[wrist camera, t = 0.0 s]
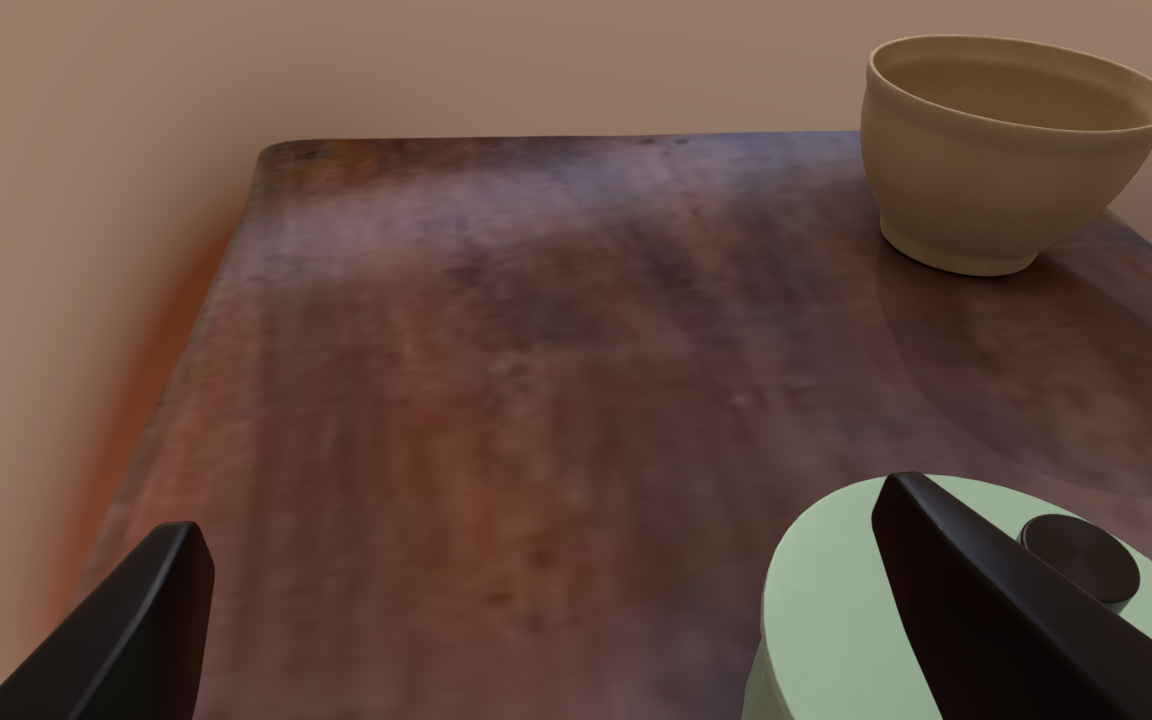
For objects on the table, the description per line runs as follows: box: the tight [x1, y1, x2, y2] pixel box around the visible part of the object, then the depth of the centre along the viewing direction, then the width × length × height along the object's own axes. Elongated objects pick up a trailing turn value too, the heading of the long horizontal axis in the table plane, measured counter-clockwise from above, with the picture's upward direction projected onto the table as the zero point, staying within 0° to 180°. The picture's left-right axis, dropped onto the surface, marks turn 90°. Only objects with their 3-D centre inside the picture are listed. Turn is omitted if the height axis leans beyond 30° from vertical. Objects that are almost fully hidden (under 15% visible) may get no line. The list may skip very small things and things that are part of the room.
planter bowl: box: [861, 35, 1152, 276], centre depth 47 cm, size 16×16×11 cm
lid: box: [760, 474, 1152, 720], centre depth 19 cm, size 12×12×5 cm
